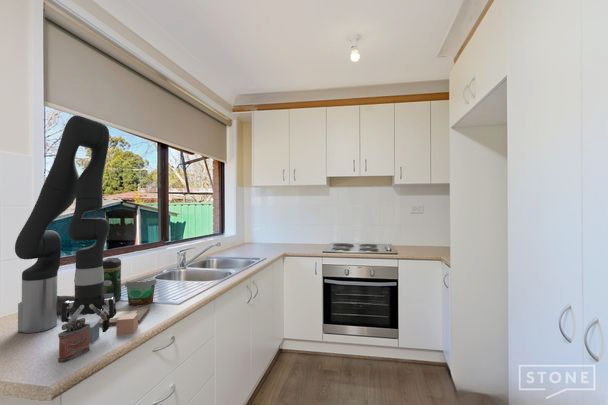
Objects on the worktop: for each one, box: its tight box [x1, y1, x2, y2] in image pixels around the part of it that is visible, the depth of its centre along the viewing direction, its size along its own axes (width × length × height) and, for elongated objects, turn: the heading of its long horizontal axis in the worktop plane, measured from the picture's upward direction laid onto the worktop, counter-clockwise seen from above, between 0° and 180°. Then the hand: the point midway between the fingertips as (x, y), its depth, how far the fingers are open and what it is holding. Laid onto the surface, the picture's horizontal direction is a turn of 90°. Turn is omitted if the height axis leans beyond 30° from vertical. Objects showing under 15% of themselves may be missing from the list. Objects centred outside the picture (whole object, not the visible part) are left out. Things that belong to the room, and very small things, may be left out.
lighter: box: [57, 317, 91, 364], centre depth 86 cm, size 8×3×10 cm, turn 163°
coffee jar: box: [103, 257, 122, 305], centre depth 133 cm, size 10×8×19 cm
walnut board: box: [97, 306, 151, 328], centre depth 114 cm, size 14×14×1 cm
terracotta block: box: [116, 313, 139, 336], centre depth 102 cm, size 5×5×5 cm
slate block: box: [85, 320, 100, 345], centre depth 95 cm, size 5×5×5 cm
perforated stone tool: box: [57, 295, 77, 315], centre depth 118 cm, size 15×5×7 cm, turn 104°
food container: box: [124, 278, 158, 307], centre depth 128 cm, size 12×6×10 cm, turn 105°
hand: (89, 332), depth 95 cm, fingers open, 8 cm apart
